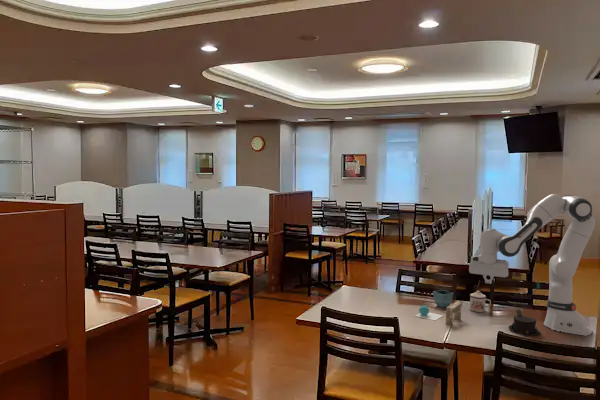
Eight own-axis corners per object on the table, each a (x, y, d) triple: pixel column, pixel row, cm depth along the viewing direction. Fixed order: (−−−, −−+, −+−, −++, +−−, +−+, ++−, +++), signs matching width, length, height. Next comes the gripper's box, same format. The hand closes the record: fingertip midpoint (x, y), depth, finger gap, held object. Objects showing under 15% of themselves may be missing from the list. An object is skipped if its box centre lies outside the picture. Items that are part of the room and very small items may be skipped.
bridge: (460, 319, 260) (461, 303, 259) (450, 325, 249) (451, 308, 248) (455, 317, 262) (456, 301, 261) (445, 324, 250) (446, 307, 250)
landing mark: (443, 315, 265) (443, 315, 265) (435, 320, 255) (435, 320, 255) (423, 311, 272) (423, 311, 272) (414, 316, 263) (414, 315, 263)
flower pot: (431, 305, 286) (432, 291, 285) (442, 303, 290) (443, 289, 289) (442, 309, 278) (443, 294, 277) (453, 307, 282) (453, 293, 281)
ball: (425, 316, 267) (432, 310, 265) (421, 318, 263) (428, 312, 260) (419, 308, 270) (426, 302, 267) (415, 310, 265) (422, 304, 263)
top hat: (544, 332, 242) (545, 312, 241) (533, 339, 231) (535, 318, 231) (515, 325, 253) (516, 306, 252) (503, 331, 242) (504, 311, 242)
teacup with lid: (469, 311, 275) (470, 292, 274) (469, 307, 283) (470, 288, 283) (491, 313, 271) (492, 294, 270) (490, 309, 280) (491, 290, 279)
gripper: (510, 259, 249) (509, 284, 250) (471, 255, 262) (471, 279, 263) (506, 261, 244) (506, 287, 245) (468, 257, 257) (467, 281, 258)
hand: (488, 283), depth 254 cm, fingers closed
